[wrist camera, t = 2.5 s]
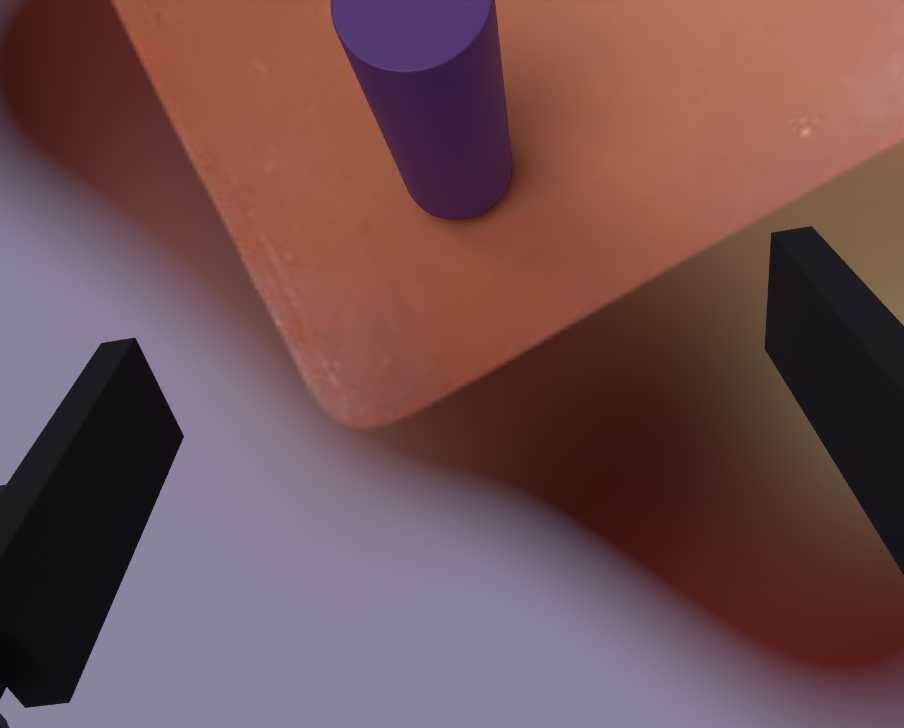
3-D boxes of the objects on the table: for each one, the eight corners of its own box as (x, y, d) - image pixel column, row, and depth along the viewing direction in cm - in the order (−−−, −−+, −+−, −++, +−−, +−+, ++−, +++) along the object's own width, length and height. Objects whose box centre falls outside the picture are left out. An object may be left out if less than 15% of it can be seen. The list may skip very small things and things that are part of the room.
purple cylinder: (415, 236, 32) (339, 86, 20) (402, 139, 33) (322, -60, 21) (520, 218, 32) (505, 54, 20) (504, 120, 33) (480, -94, 21)
